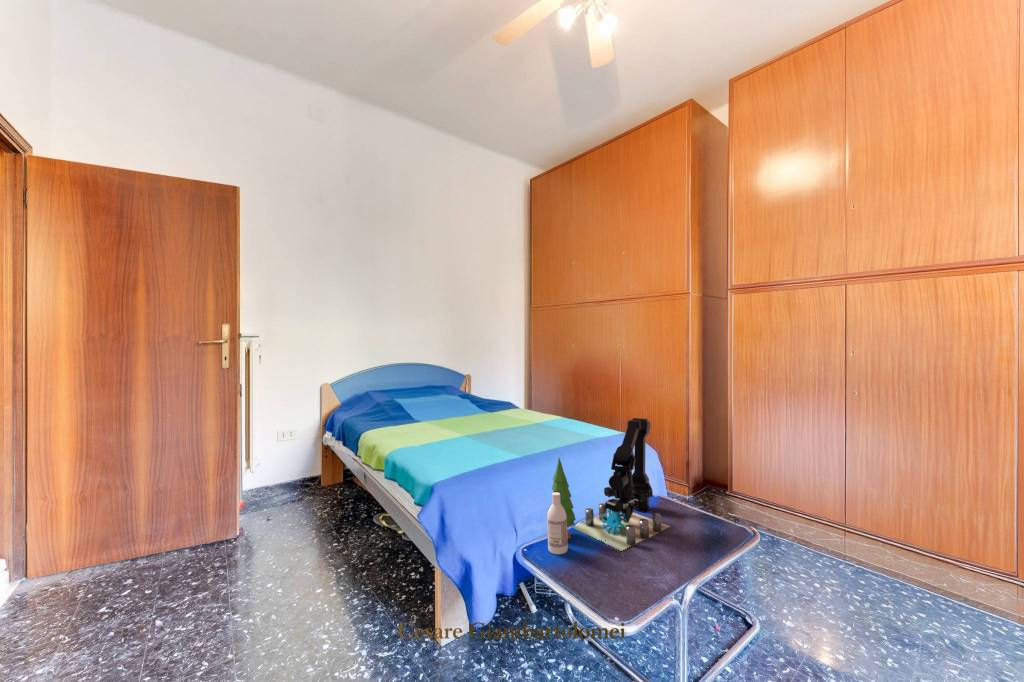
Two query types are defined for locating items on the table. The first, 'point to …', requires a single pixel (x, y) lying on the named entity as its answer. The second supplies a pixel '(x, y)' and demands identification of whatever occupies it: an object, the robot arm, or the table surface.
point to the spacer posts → (629, 528)
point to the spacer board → (618, 537)
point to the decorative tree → (564, 494)
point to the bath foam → (557, 526)
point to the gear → (614, 521)
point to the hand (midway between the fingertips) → (626, 522)
